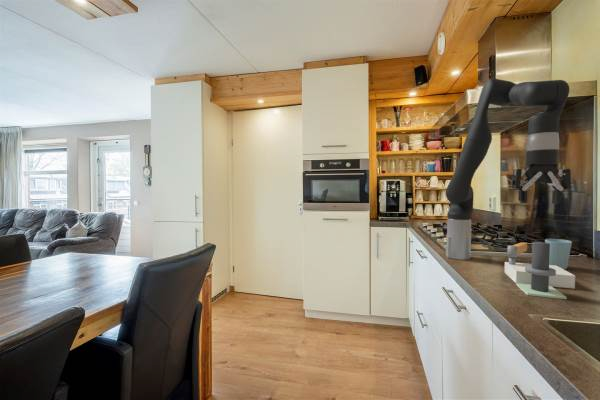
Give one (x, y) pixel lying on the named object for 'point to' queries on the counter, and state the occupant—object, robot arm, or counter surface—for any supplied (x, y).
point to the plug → (540, 267)
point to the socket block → (522, 277)
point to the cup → (559, 252)
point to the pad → (551, 292)
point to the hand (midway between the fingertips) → (539, 203)
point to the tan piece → (516, 249)
